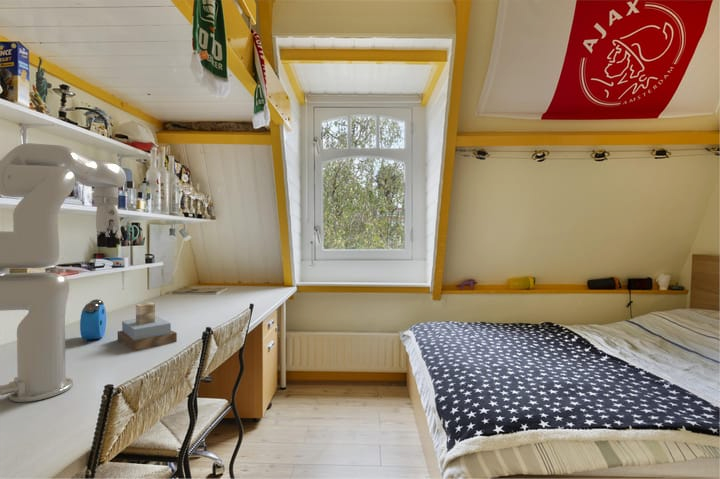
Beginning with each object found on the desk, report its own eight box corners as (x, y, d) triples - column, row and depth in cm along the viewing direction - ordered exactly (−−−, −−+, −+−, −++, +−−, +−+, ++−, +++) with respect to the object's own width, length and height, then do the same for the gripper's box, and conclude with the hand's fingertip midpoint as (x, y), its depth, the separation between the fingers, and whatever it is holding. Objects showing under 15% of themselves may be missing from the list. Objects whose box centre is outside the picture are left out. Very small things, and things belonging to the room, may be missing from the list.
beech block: (140, 324, 134) (140, 306, 134) (135, 322, 137) (135, 304, 137) (154, 322, 138) (154, 304, 137) (150, 319, 141) (150, 302, 141)
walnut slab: (136, 352, 127) (136, 341, 127) (117, 341, 139) (117, 331, 139) (176, 343, 138) (176, 332, 138) (156, 333, 150) (156, 324, 149)
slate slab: (134, 340, 127) (134, 329, 127) (122, 331, 139) (122, 320, 139) (170, 333, 136) (170, 323, 136) (156, 325, 148) (156, 315, 148)
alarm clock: (88, 335, 145) (88, 298, 144) (107, 333, 148) (106, 297, 147) (79, 344, 133) (79, 304, 133) (99, 342, 136) (99, 303, 135)
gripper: (126, 202, 133) (126, 247, 134) (109, 204, 144) (109, 246, 144) (102, 200, 127) (103, 248, 128) (87, 202, 138) (87, 246, 138)
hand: (106, 247), depth 136 cm, fingers open, 9 cm apart
